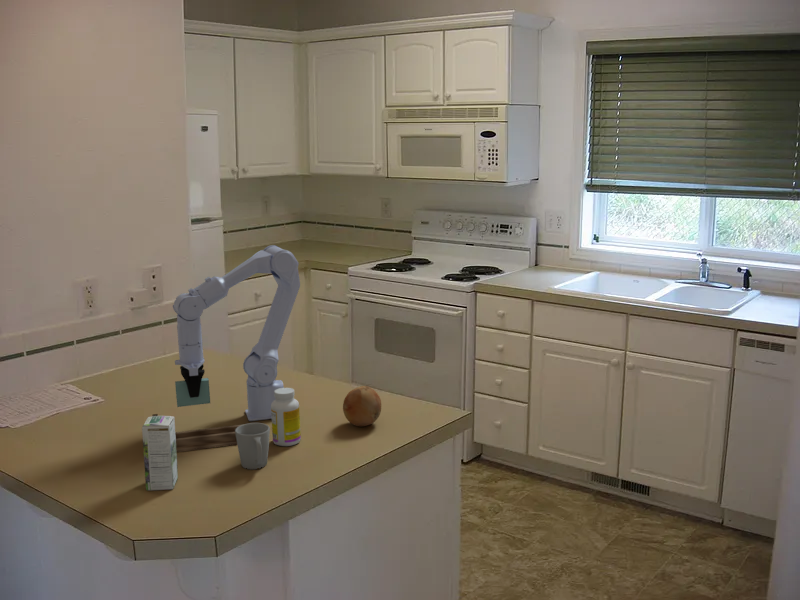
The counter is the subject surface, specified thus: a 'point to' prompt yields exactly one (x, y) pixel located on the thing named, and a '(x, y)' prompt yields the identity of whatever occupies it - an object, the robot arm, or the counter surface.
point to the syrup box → (160, 452)
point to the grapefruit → (362, 406)
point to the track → (205, 438)
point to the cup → (253, 444)
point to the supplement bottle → (285, 418)
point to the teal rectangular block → (185, 399)
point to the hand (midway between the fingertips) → (194, 395)
